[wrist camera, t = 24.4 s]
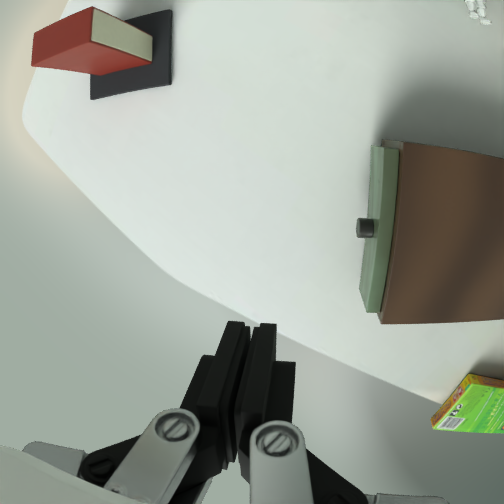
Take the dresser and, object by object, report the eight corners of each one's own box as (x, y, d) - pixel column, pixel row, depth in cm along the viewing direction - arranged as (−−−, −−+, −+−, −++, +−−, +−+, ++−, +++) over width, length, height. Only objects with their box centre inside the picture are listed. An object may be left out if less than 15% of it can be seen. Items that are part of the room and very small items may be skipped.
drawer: (346, 288, 29) (352, 312, 25) (357, 144, 24) (367, 146, 20) (474, 289, 27) (492, 310, 23) (496, 163, 22) (521, 170, 18)
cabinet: (368, 290, 30) (380, 324, 24) (381, 139, 25) (403, 141, 19) (484, 290, 28) (510, 319, 22) (508, 159, 22) (543, 169, 17)
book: (100, 75, 25) (30, 66, 16) (100, 49, 24) (33, 32, 15) (153, 63, 24) (90, 41, 15) (153, 35, 23) (93, 5, 14)
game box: (466, 368, 33) (541, 386, 30) (428, 414, 37) (507, 425, 34) (473, 383, 30) (547, 397, 28) (432, 429, 34) (511, 437, 32)
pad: (93, 100, 27) (90, 99, 26) (95, 32, 24) (92, 30, 23) (171, 84, 25) (169, 84, 25) (172, 10, 22) (170, 9, 22)
